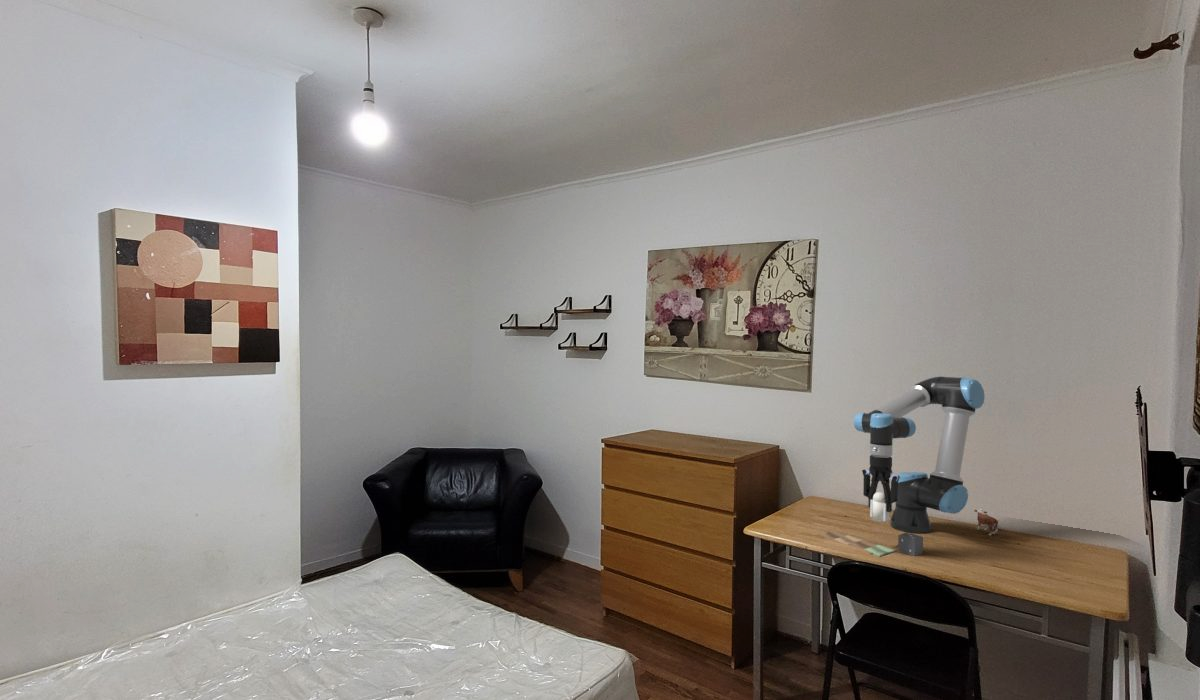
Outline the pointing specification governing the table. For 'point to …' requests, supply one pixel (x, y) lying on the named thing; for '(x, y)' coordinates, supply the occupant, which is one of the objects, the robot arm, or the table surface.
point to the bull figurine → (986, 521)
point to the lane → (858, 543)
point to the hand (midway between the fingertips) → (879, 518)
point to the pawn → (878, 507)
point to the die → (910, 544)
